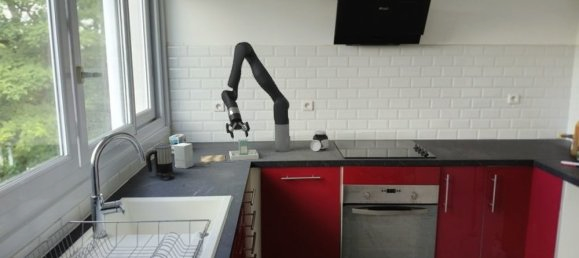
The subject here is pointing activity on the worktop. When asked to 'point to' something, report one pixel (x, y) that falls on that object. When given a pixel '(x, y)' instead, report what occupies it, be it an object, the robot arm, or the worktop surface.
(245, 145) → the carton
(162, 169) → the milk frother
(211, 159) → the board
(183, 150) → the supplement box
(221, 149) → the worktop surface
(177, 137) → the light bulb box
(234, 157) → the tray
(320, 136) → the spread jar
